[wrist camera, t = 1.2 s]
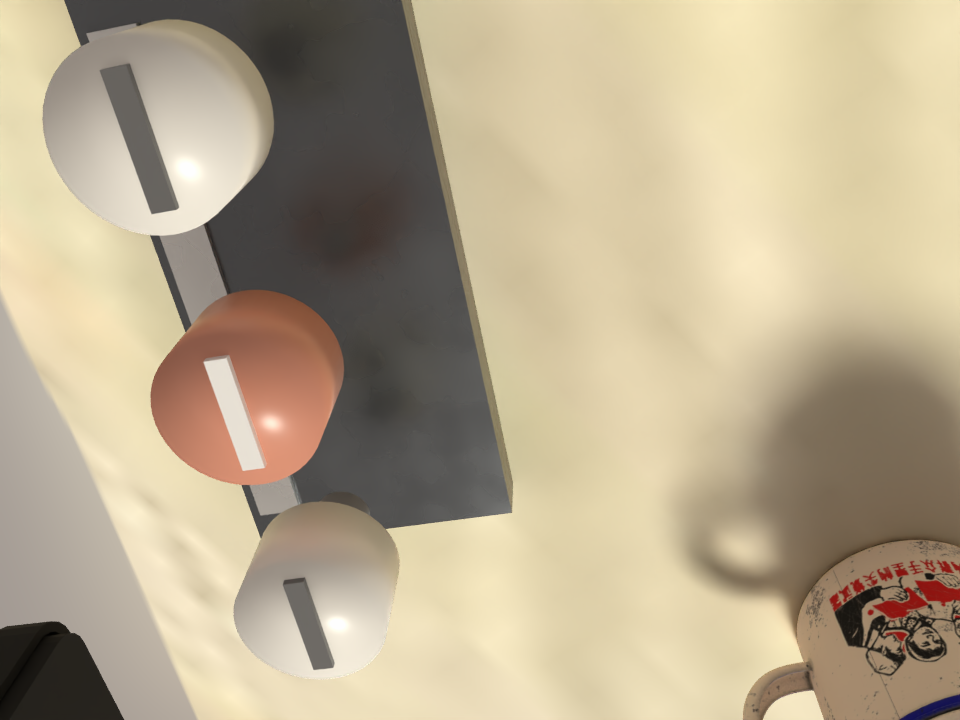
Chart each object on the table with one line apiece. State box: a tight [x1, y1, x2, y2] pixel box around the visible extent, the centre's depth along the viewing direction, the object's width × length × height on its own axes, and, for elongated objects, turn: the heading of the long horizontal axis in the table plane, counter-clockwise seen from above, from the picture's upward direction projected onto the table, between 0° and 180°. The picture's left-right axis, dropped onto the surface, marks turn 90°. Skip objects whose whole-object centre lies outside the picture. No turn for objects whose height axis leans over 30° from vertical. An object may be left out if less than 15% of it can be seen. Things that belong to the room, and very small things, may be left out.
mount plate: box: [64, 0, 513, 538], centre depth 32 cm, size 21×10×2 cm, turn 11°
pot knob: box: [151, 290, 344, 485], centre depth 26 cm, size 4×4×5 cm
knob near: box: [43, 19, 274, 236], centre depth 22 cm, size 4×4×5 cm
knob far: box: [234, 492, 400, 679], centre depth 29 cm, size 4×4×5 cm
